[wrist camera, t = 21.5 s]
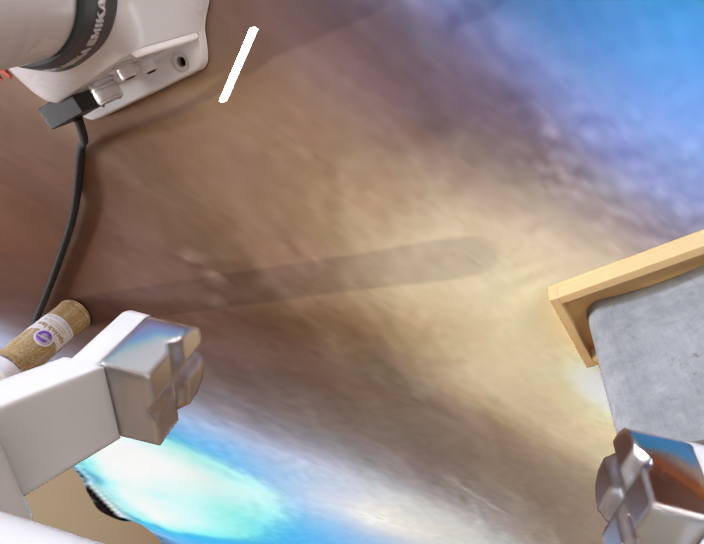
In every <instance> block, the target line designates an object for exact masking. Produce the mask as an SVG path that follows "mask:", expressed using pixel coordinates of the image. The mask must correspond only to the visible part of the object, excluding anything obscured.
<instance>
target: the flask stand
mask: <svg viewBox="0 0 704 544" xmlns="http://www.w3.org/2000/svg"><path fill="white" fill-rule="evenodd" d="M703 264H704V229H703V230H701V231H698V232H695V233H692V234H690V235H687V236H684V237H682V238H679V239H676V240H674V241H671V242H668V243H666V244H663V245H660V246H657V247H655V248H652V249H649V250H647V251H644V252H641V253H639V254H636V255H633V256H630V257H628V258H625V259H622V260H620V261H617V262H614V263H612V264H609V265H606V266H604V267H601V268H598V269H595V270H593V271H590V272H587V273H585V274H582V275H579V276H577V277H574V278H571V279H568V280H566V281H563V282H560V283H558V284H555V285H552V286H550V287H548V292H549V299H550V302H551V304H552V306H553V308H554V309H555V311H556V313H557V315H558V317H559V318H560V320H561V322H562V324H563V326H564V327H565V329H566V331H567V333H568V335H569V336H570V338H571V340H572V342H573V344H574V345H575V347H576V349H577V351H578V353H579V354H580V356H581V358H582V360H583V362H584V363H585V365H586V367H587V368H588V367H592V366H595V365H598V364H599V362H598V358H597V354H596V350H595V346H594V342H593V338H592V335H591V331H590V327H589V323H588V319H587V314H586V313H587V309H588V307H589V306H590V305H591V304H592V303H593V302H594V301H597V300H599V299H603V298H608V297H612V296H616V295H620V294H624V293H628V292H631V291H635V290H638V289H641V288H644V287H647V286H650V285H653V284H656V283H659V282H662V281H664V280H667V279H669V278H672V277H675V276H677V275H680V274H682V273H685V272H687V271H689V270H692V269H694V268H696V267H699V266H701V265H703Z"/></svg>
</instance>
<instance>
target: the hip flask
mask: <svg viewBox="0 0 704 544" xmlns="http://www.w3.org/2000/svg"><path fill="white" fill-rule="evenodd" d="M586 314H587V319H588V323H589V327H590V331H591V335H592V338H593V342H594V346H595V350H596V354H597V358H598V362H599V366H600V370H601V374H602V378H603V382H604V386H605V390H606V394H607V398H608V402H609V406H610V410H611V414H612V418H613V422H614V426H615V430H616V434H618V432H619V431H620V430H622V429H623V428H629V429H633V430H638V431H642V432H646V433H651V434H655V435H660V436H664V437H668V438H673V439H677V440H682V441H684V442H685V441H687V442H692V443H696V444H701V445H704V264H703V265H701V266H699V267H696V268H694V269H692V270H689V271H687V272H685V273H682V274H680V275H677V276H675V277H672V278H669V279H667V280H664V281H662V282H659V283H656V284H653V285H650V286H647V287H644V288H641V289H638V290H635V291H631V292H628V293H624V294H620V295H616V296H612V297H608V298H603V299H599V300H597V301H594V302H593V303H592V304H591V305H590V306H589V307H588V309H587V313H586Z"/></svg>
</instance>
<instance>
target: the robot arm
mask: <svg viewBox="0 0 704 544" xmlns="http://www.w3.org/2000/svg"><path fill="white" fill-rule="evenodd" d="M209 1H210V0H0V72H1V73H2V74H4V75H5V76H6V77H8V78H9V79H11V78H12V75H11V73H10V72H9V71H8V70H7V69H9V70H10V71H11V72H12V73H13V74H14V75H15V76H16V77H17V78H18V79H19V80H20V81H21V82H22V83H23V84H24V85H25V86H27V87H28V88H29V89H30V90H31V91H33V92H34V93H35V94H37V95H38V96H40V97H41V98H43V99H45V100H47V101H50V103H48V104H46V105H45V106H43V107H41V108H40V109H38V110H39V112H40V113H41V114H42V116H43V117H44V119H45V120H46V122H47V123H48V125H49V126H50V128H51V129H55V128H58V127H60V126H63V125H66V124H69V123H71V122H75V125H76V128H77V131H78V134H79V138H80V140H79V142H78V145H77V154H76V165H75V179H74V190H73V198H72V204H71V210H70V214H69V219H68V223H67V226H66V230H65V233H64V236H63V239H62V242H61V245H60V248H59V251H58V254H57V257H56V260H55V263H54V266H53V269H52V271H51V274H50V277H49V279H48V282H47V285H46V287H45V290H44V292H43V295H42V298H41V300H40V303H39V305H38V308H37V310H36V312H35V315H34V317H33V320H32V322H31V324H30V326H31V325H33V324H34V323H35V322H37V321H38V320H39V319H40V317H41V315H42V312H43V310H44V308H45V305H46V303H47V300H48V298H49V295H50V293H51V290H52V288H53V285H54V283H55V280H56V278H57V275H58V273H59V270H60V267H61V264H62V261H63V258H64V256H65V253H66V250H67V247H68V244H69V241H70V239H71V236H72V233H73V229H74V226H75V222H76V218H77V214H78V209H79V204H80V197H81V189H82V179H83V167H84V156H85V149H86V145H87V144H88V135H87V131H86V127H85V124H84V121H83V117H85V118H87V119H90V120H95V119H99V118H102V117H105V116H107V115H109V114H111V113H113V112H115V111H117V110H119V109H121V108H124V107H126V106H128V105H130V104H132V103H134V102H136V101H138V100H140V99H142V98H144V97H146V96H148V95H150V94H153V93H155V92H157V91H159V90H161V89H163V88H165V87H167V86H169V85H171V84H173V83H175V82H177V81H179V80H182V79H184V78H186V77H188V76H190V75H192V74H194V73H196V72H198V71H200V70H202V69H203V68H205V66H206V65H207V62H208V46H207V39H206V33H205V22H206V16H207V11H208V6H209ZM257 31H258V28H256V27H252V28H250V29H249V31H248V33H247V36H246V38H245V40H244V43H243V45H242V47H241V50H240V52H239V55H238V57H237V59H236V62H235V64H234V66H233V69H232V71H231V73H230V76H229V78H228V80H227V83H226V85H225V88H224V90H223V92H222V95H221V97H220V99H219V101H220V102H221V103H223V102H225V101H227V100H228V98H229V95H230V93H231V91H232V88H233V86H234V84H235V82H236V79H237V77H238V75H239V72H240V70H241V68H242V65H243V63H244V61H245V59H246V56H247V54H248V52H249V49H250V47H251V45H252V43H253V40H254V38H255V36H256V33H257ZM181 57H183V58H184V59H185V62H186V64H185V65H183V64H182V62H181ZM2 80H3V78H2V77H1V75H0V81H2ZM201 343H202V342H201V335H200V330H199V329H198V328H196V327H195V326H191V325H187V324H184V323H180V322H176V321H172V320H168V319H165V318H161V317H157V316H153V315H147V314H143V313H140V312H136V311H132V310H129V311H125V312H123V313H121V314H120V315H119V316H118V317H117V318H116V319H115V320H114V321H113V322H111V323H110V324H109V325H108V326H107V327H106V328H105V329H104V330H103V331H102V332H100V333H99V334H98V335H97V336H96V337H95V338H94V339H93V340H92V341H91V342H90V343H88V344H87V345H86V346H85V347H84V348H83V349H82V350H81V351H80V352H79V353H77V354H76V355H75V356H74V357H73V358H67V357H63V358H61V359H58V360H55V361H52V362H50V363H47V364H44V365H41V366H38V367H36V368H33V369H30V370H27V371H24V372H22V373H19V374H16V375H13V376H10V377H8V378H5V379H2V380H0V544H103V543H99V542H96V541H93V540H90V539H87V538H83V537H80V536H78V535H74V534H71V533H68V532H65V531H62V530H59V529H55V528H53V527H49V526H46V525H43V524H40V523H37V522H34V521H33V516H32V514H31V511H30V509H29V507H28V504H27V502H26V500H25V498H24V496H25V495H27V494H29V493H30V492H32V491H33V490H35V489H37V488H39V487H40V486H42V485H43V484H45V483H47V482H48V481H50V480H52V479H53V478H55V477H57V476H58V475H60V474H62V473H63V472H65V471H66V470H68V469H70V468H72V467H73V466H75V465H77V464H78V463H80V462H81V461H83V460H85V459H86V458H88V457H90V456H91V455H93V454H95V453H96V452H98V451H100V450H101V449H103V448H105V447H106V446H108V445H110V444H111V443H113V442H114V441H116V440H118V439H119V438H120V436H124V437H128V438H132V439H136V440H140V441H144V442H148V443H152V444H156V445H161V444H162V442H163V441H164V439H165V438H166V437H167V435H168V434H169V432H170V431H171V430H172V428H173V427H174V425H175V424H176V423H177V421H178V412H177V410H178V409H180V408H182V407H184V406H186V405H188V404H190V403H191V401H192V400H193V398H194V397H195V395H196V394H197V392H198V390H199V387H200V384H201V382H202V379H203V371H204V364H203V358H202V357H201V356H200V354H199V353H198V352H197V351H196V349H197V348H198V347H199V345H200V344H201ZM613 443H614V448H615V452H616V453H614V454H612V455H610V456H608V457H605V458H604V460H603V462H602V464H601V466H600V468H599V470H598V474H597V480H596V485H595V487H596V502H597V509H598V511H599V513H600V514H601V515H602V516H603V518H604V519H605V520H606V521H607V522H608V525H607V526H606V528H605V530H604V531H603V533H602V537H603V542H604V544H704V445H701V444H696V443H692V442H687V441H685V442H684V441H682V440H677V439H673V438H668V437H664V436H660V435H655V434H651V433H646V432H642V431H638V430H633V429H629V428H623V429H622V430H620V431H619V432H618V434H617V436H616V437H615V439H614V441H613Z"/></svg>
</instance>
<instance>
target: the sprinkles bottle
mask: <svg viewBox="0 0 704 544" xmlns="http://www.w3.org/2000/svg"><path fill="white" fill-rule="evenodd" d="M89 324H90V315H89V312H88V311H87V310H86V308H85V307H84V306H83V305H82V304H80V303H79V302H77V301H74V300H64V301H62V302H61V303H60V304H59V305H58V306H57V307H56V308H55V309H53V310H52V311H50V312H49V313H48V314H46V315H44V316H43V317H42V318H40V319H39V320H38V321H37V322H35V323H34V324H33V325H31V326H30V327H29V328H27V329H26V330H25V331H24V332H22V333H21V334H20V335H18V336H17V337H16V338H15V339H13V340H12V341H11V342H10V343H9V344H8V345H6V346H5V347H4V348H3V349H1V350H0V380H2V379H5V378H8V377H10V376H13V375H16V374H19V373H22V372H24V371H27V370H30V369H33V368H36V367H38V366H41V365H43V364H45V363H46V362H47V361H48V360H49V359H50V358H51V357H53V356H54V355H55V354H56V353H57V352H58V351H59V350H60V349H62V348H63V347H64V346H65V345H66V344H67V343H68V342H70V340H71V339H72V338H73V337H74V336H76V335H77V334H78V333H79V332H80V331H81V330H83V329H84V328H86V327H87V326H89Z"/></svg>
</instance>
